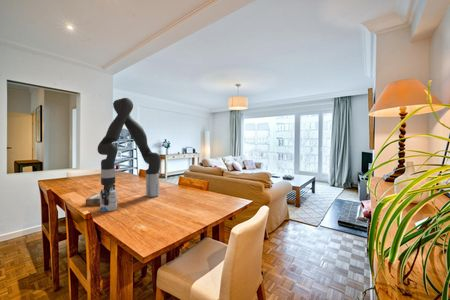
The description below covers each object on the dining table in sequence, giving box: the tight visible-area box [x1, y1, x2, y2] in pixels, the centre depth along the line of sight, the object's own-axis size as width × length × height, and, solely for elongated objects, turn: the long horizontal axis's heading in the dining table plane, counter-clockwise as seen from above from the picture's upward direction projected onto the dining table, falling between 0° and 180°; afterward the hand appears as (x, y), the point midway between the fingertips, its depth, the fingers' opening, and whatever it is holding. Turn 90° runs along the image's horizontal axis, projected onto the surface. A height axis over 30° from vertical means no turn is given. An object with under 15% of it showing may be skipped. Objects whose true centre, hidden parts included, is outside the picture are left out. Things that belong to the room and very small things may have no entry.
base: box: [85, 193, 100, 206], centre depth 130 cm, size 13×13×4 cm
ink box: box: [99, 189, 118, 213], centre depth 115 cm, size 9×5×12 cm, turn 112°
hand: (108, 203), depth 116 cm, fingers closed on ink box, 5 cm apart
